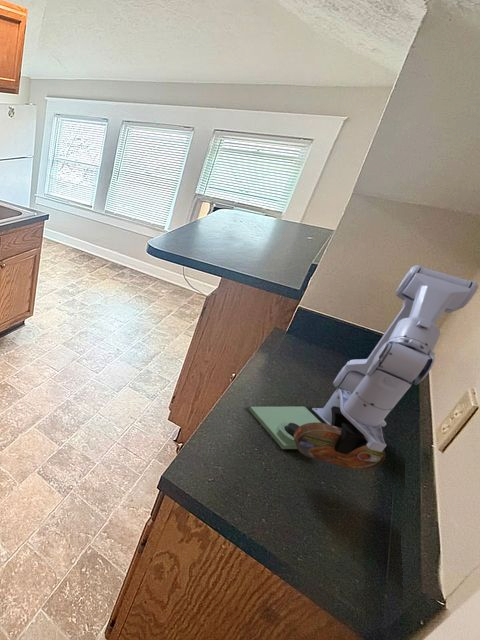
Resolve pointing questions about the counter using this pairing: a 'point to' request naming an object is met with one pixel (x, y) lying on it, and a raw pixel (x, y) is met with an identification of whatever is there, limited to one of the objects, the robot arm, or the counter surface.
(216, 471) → the counter surface
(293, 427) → the button
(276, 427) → the pale green flat piece
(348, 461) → the tin
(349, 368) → the robot arm
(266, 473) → the counter surface
